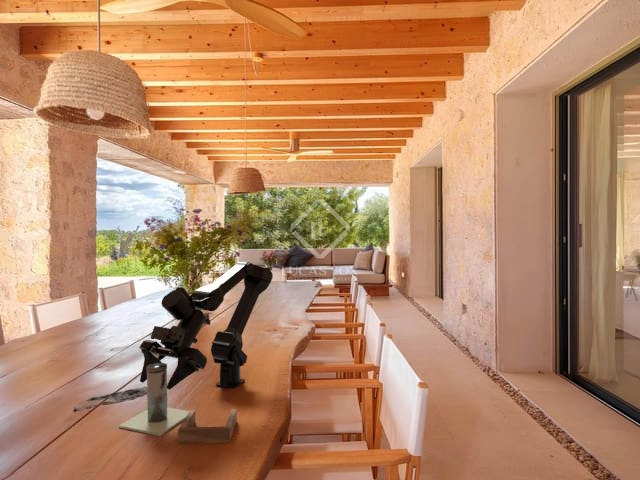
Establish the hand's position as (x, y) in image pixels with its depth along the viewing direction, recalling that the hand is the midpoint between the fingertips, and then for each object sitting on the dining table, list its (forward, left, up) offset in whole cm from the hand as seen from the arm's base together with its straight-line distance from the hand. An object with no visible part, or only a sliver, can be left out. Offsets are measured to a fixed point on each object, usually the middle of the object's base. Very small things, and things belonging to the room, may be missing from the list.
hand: (154, 385), depth 104 cm
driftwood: (-8, -20, -10) cm, 24 cm away
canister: (-1, 0, -8) cm, 9 cm away
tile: (-1, 0, -9) cm, 9 cm away
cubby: (-1, +15, -9) cm, 18 cm away
